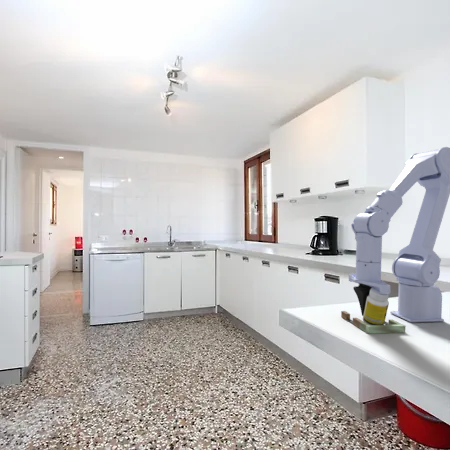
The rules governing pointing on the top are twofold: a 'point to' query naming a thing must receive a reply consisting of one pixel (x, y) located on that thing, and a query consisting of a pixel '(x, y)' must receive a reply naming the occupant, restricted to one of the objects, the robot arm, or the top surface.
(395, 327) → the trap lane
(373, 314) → the supplement bottle
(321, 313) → the top surface
